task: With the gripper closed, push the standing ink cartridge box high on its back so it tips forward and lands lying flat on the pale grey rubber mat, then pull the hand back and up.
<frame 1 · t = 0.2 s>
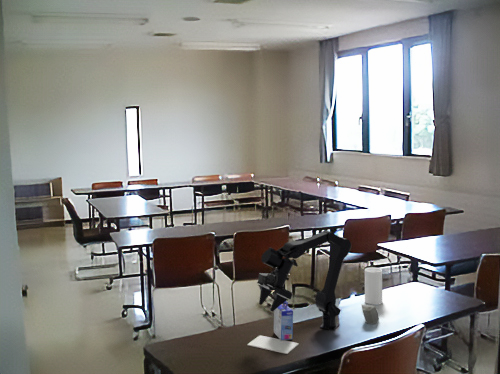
hand: (265, 307, 213), 15 cm above the table, tool tilted 30°, fingers open, 9 cm apart
cup: (373, 302, 258), on the table
mineral specimen: (370, 323, 233), on the table
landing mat: (273, 344, 214), on the table
ink cartridge box: (283, 336, 221), on the table, touching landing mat
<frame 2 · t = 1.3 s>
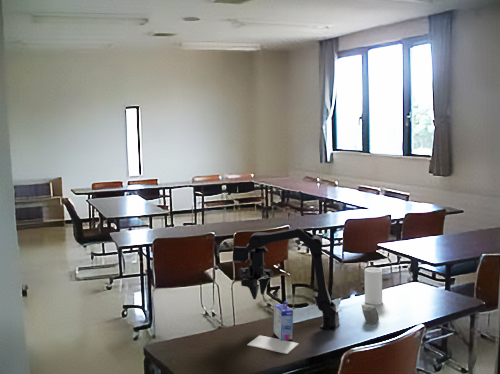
hand: (258, 296, 232), 13 cm above the table, tool pointing down, fingers open, 6 cm apart
nothing on the table moved.
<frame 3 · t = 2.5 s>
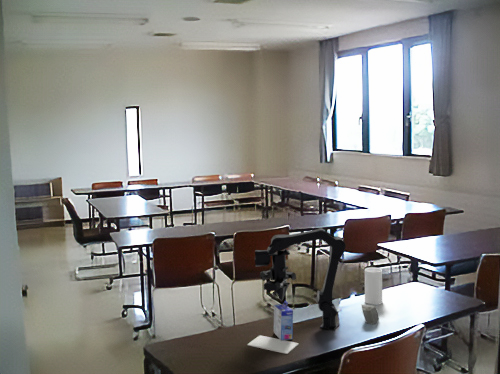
hand: (281, 300, 228), 13 cm above the table, tool pointing down, fingers closed
nothing on the table moved.
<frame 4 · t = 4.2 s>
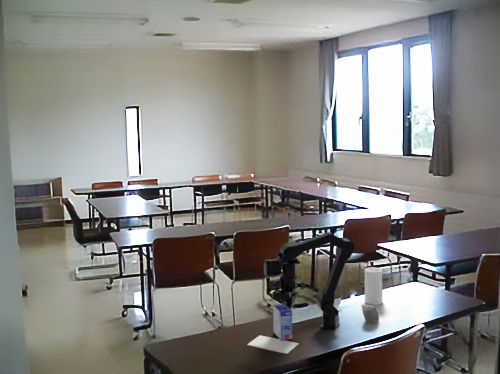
hand: (289, 309, 226), 9 cm above the table, tool pointing down, fingers closed
ink cartridge box: (283, 336, 221), on the table, touching gripper, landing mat
everything else where it was.
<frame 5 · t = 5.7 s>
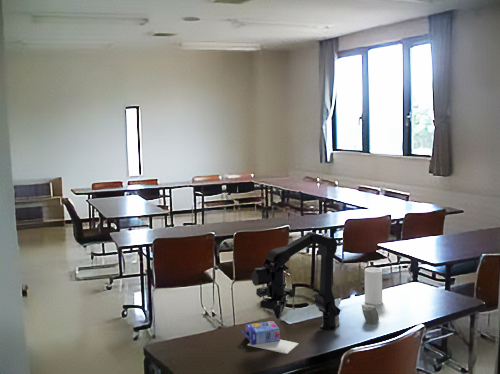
hand: (278, 318, 217), 9 cm above the table, tool pointing down, fingers closed
ink cartridge box: (277, 330, 220), point 3 cm above the table, touching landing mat
everything else where it was.
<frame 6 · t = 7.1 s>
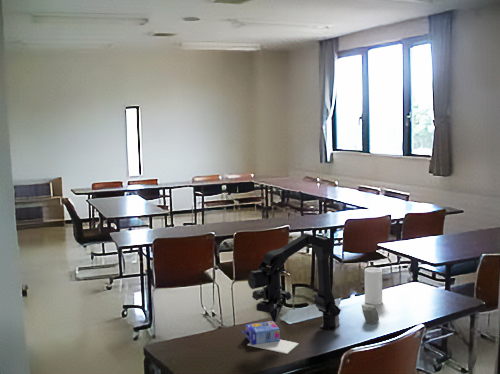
hand: (274, 321, 214), 9 cm above the table, tool pointing down, fingers closed
nothing on the table moved.
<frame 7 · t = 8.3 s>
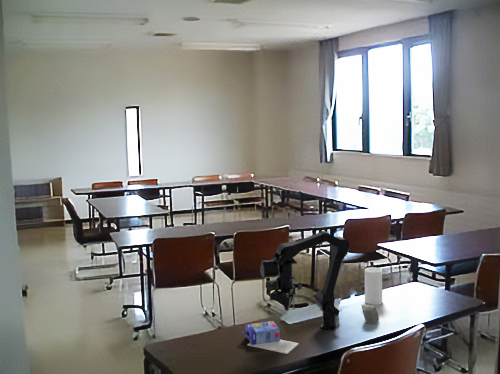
hand: (286, 310, 223), 10 cm above the table, tool pointing down, fingers closed
nothing on the table moved.
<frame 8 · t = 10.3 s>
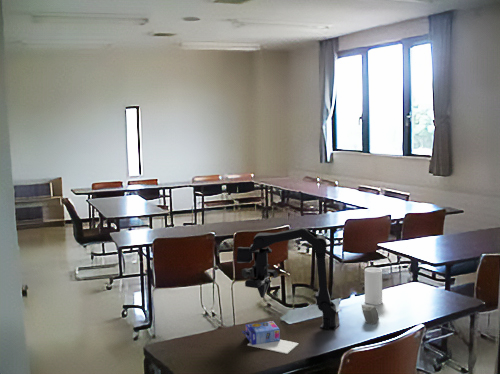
hand: (262, 297, 231), 13 cm above the table, tool pointing down, fingers closed
nothing on the table moved.
at the end: ink cartridge box tilted 92°; ink cartridge box touching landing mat; the gripper is holding nothing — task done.
